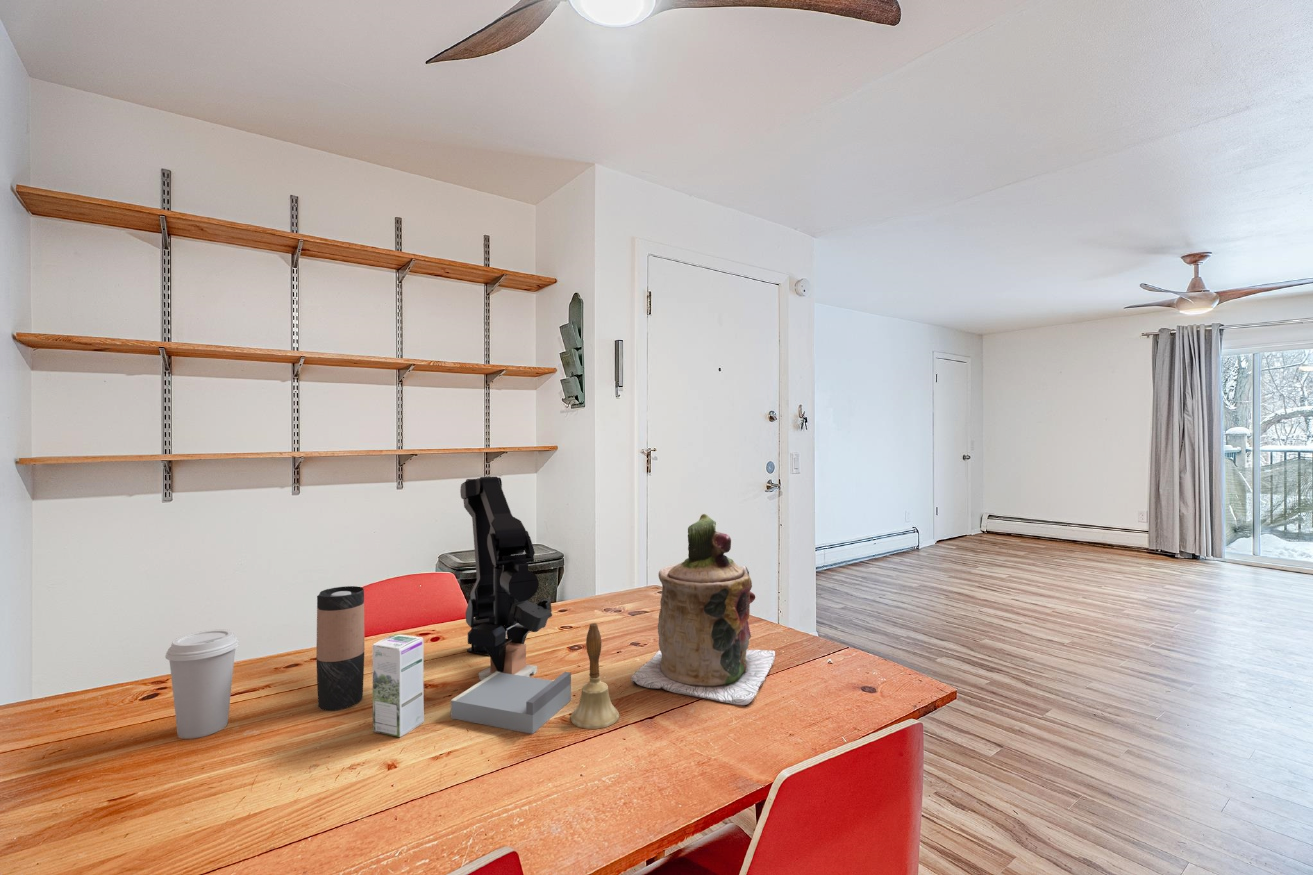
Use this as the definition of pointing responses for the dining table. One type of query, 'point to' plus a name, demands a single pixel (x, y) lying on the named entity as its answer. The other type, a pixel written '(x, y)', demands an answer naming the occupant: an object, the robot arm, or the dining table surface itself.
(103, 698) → the dining table surface
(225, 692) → the coffee cup
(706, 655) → the cookie jar
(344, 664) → the travel mug
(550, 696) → the dock
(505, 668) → the pallet
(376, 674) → the syrup box
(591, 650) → the hand bell
